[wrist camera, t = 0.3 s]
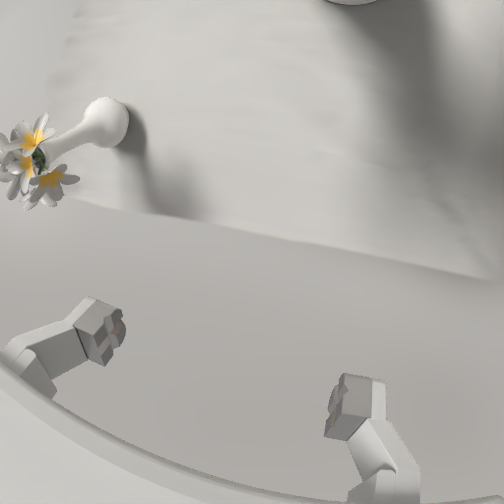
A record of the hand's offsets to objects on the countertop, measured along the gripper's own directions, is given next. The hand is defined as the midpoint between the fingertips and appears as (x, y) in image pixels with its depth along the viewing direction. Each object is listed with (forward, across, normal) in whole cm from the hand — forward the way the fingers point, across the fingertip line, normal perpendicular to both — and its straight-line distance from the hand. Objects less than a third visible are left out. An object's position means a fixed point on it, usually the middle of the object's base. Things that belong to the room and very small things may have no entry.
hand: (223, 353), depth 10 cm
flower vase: (+40, +35, +1) cm, 53 cm away
